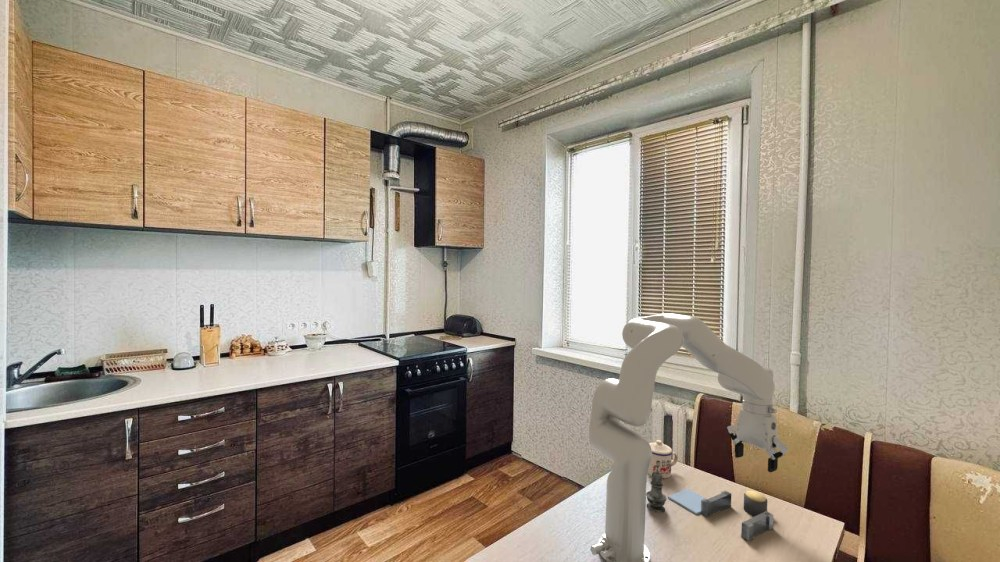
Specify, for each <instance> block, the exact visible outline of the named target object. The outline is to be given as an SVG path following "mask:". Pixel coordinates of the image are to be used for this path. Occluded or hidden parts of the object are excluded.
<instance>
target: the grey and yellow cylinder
mask: <svg viewBox="0 0 1000 562" xmlns="http://www.w3.org/2000/svg"><path fill="white" fill-rule="evenodd" d="M743 510H744V512H745V513H747V514H748V515H750V516H753V517H755V516H757V515H759V514H761V513H763V512H765V511H767V512H768V498H767V497H766V496H765V494H763V493H761V492H759V491H755V490H746V491H745V492H744V493H743Z"/></svg>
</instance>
